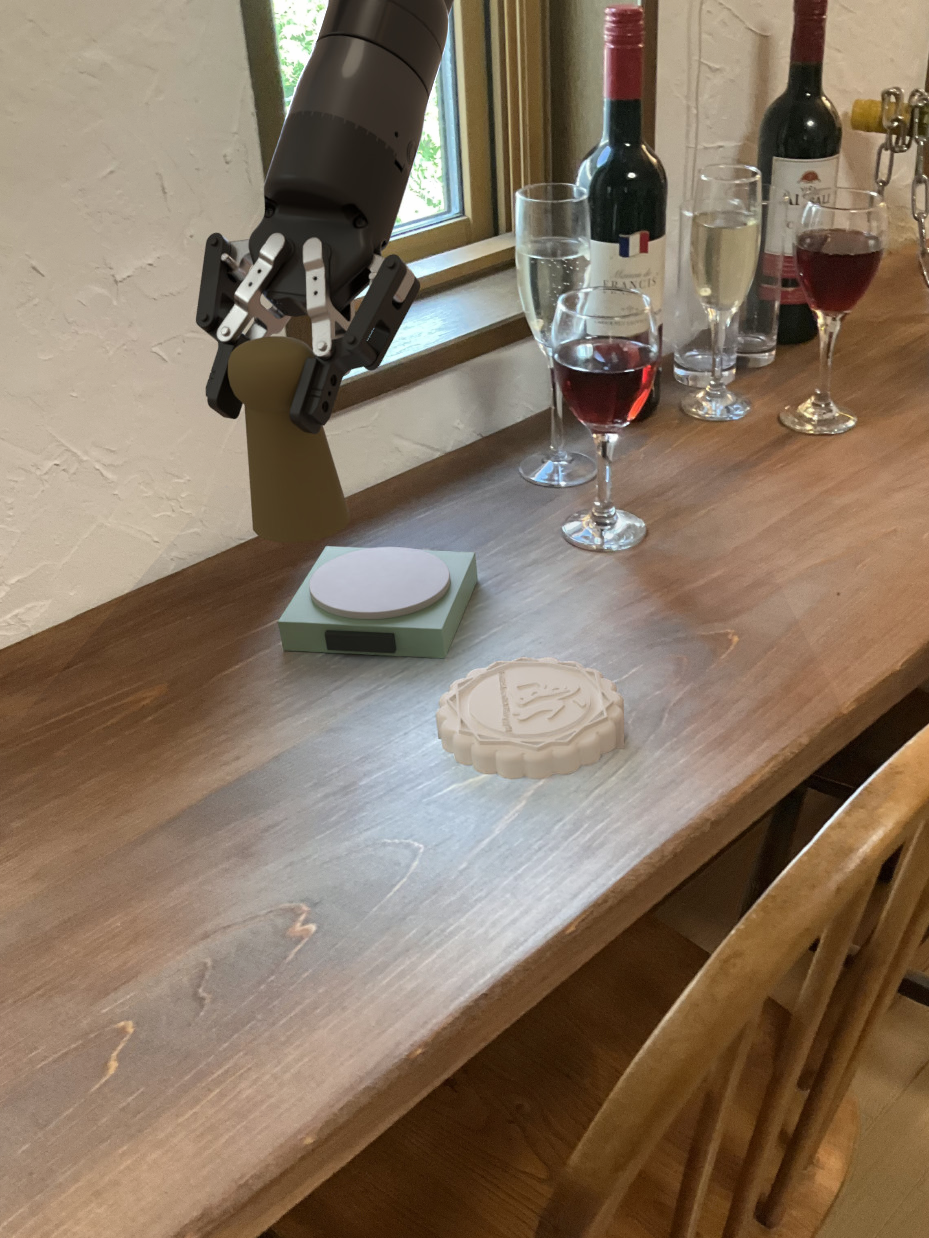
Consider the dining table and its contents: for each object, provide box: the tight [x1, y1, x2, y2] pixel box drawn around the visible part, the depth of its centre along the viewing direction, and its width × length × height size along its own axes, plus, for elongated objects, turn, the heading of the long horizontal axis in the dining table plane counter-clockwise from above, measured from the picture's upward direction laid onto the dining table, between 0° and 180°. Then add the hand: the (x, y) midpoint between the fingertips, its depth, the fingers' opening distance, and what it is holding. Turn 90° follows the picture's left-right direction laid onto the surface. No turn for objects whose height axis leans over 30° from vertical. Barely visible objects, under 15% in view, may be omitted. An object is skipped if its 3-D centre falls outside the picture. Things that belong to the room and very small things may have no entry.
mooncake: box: [435, 656, 625, 780], centre depth 82 cm, size 12×12×4 cm
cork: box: [228, 335, 351, 544], centre depth 76 cm, size 6×6×11 cm
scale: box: [277, 545, 479, 659], centre depth 95 cm, size 12×12×3 cm
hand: (262, 419), depth 74 cm, fingers closed on cork, 5 cm apart
